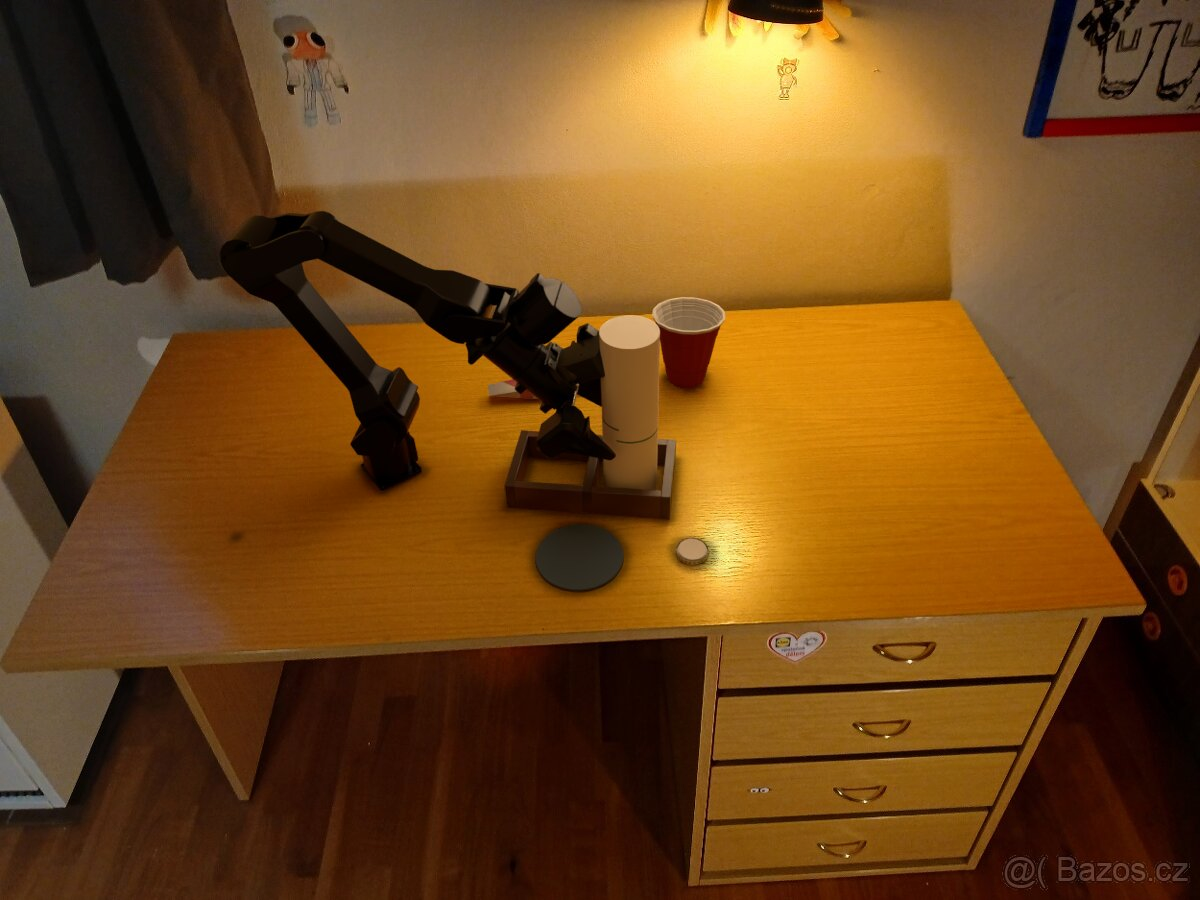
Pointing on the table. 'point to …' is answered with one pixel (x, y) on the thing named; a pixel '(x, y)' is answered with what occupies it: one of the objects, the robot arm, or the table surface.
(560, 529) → the coaster
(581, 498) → the rectangular frame
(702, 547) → the bottle cap
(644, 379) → the cylindrical container
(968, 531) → the table surface
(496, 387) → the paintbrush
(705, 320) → the plastic cup
